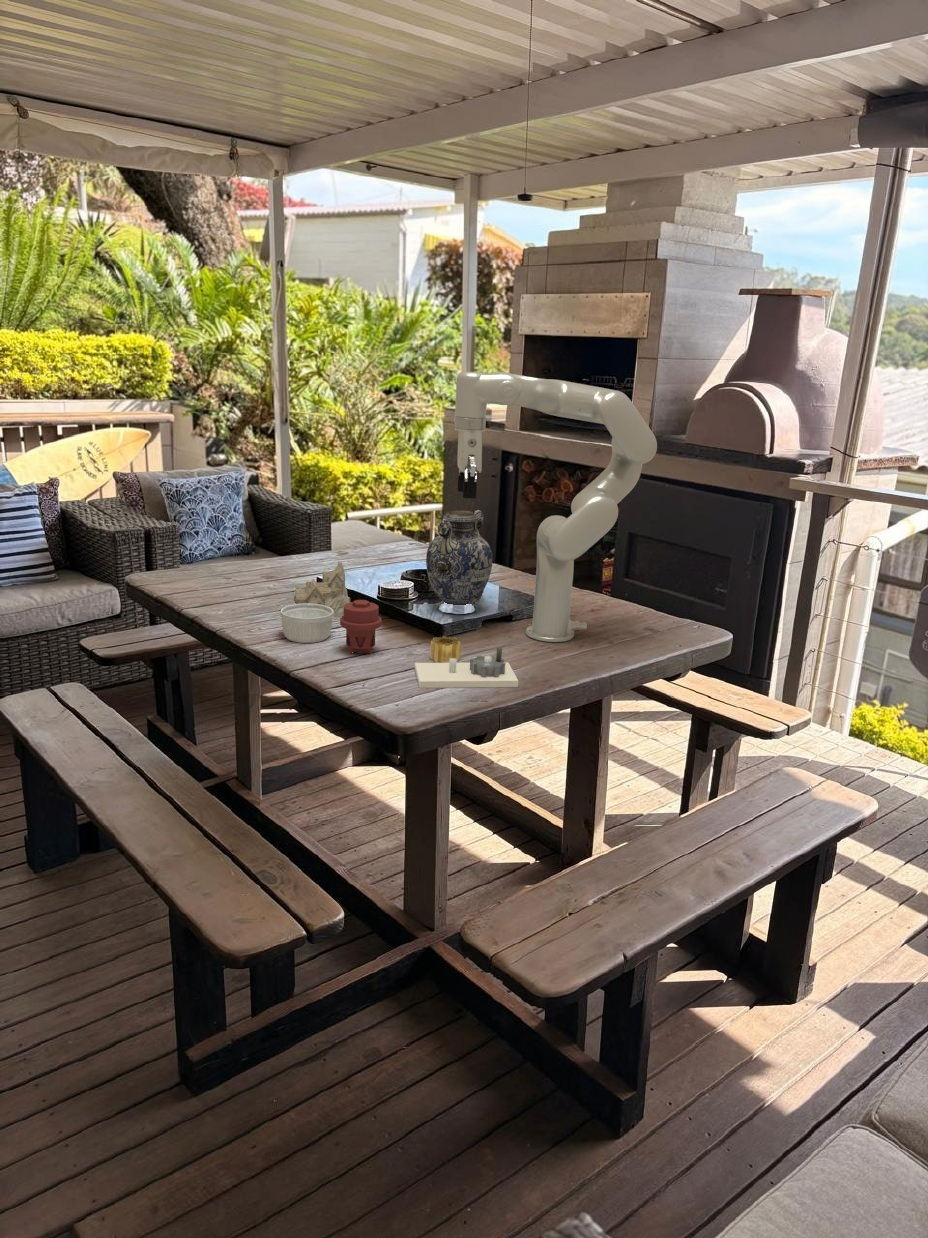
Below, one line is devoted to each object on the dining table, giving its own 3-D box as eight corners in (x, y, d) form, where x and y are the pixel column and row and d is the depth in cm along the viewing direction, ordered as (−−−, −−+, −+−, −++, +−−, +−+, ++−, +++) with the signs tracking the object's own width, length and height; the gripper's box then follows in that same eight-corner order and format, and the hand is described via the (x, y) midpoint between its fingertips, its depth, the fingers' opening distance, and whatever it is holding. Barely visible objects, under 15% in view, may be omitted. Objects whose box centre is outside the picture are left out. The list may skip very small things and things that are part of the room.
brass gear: (457, 653, 224) (458, 636, 222) (461, 663, 217) (462, 645, 216) (428, 653, 223) (429, 636, 221) (432, 663, 216) (432, 645, 215)
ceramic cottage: (354, 601, 263) (351, 551, 258) (349, 620, 247) (345, 567, 242) (299, 603, 262) (295, 552, 257) (291, 622, 247) (286, 568, 242)
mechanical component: (338, 657, 217) (340, 643, 227) (381, 657, 218) (381, 644, 228) (339, 607, 214) (341, 595, 223) (382, 608, 215) (382, 596, 224)
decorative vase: (465, 624, 247) (469, 521, 239) (409, 612, 256) (411, 513, 248) (504, 607, 264) (509, 511, 256) (450, 597, 273) (453, 503, 266)
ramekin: (343, 634, 234) (343, 608, 232) (314, 648, 223) (314, 621, 221) (300, 625, 239) (300, 600, 237) (269, 639, 228) (269, 612, 226)
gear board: (507, 668, 215) (509, 640, 213) (517, 687, 204) (519, 657, 202) (414, 668, 212) (415, 640, 210) (419, 687, 201) (420, 657, 199)
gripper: (491, 428, 214) (487, 501, 219) (479, 421, 231) (476, 489, 236) (459, 427, 213) (456, 500, 218) (450, 420, 230) (447, 488, 235)
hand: (466, 494), depth 227 cm, fingers open, 9 cm apart
